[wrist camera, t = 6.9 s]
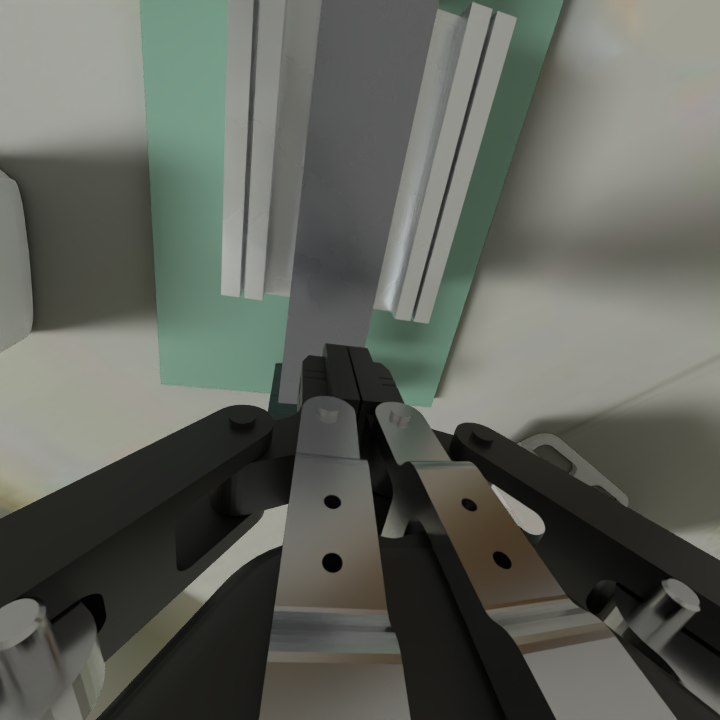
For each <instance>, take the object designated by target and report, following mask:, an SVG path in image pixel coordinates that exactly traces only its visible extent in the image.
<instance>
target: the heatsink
mask: <svg viewBox="0 0 720 720" xmlns="http://www.w3.org/2000/svg"><path fill="white" fill-rule="evenodd" d="M321 5H322V0H228V28H227V69H226V110H225V150H224V191H223V232H222V273H221V295H226V296H233V297H240V296H241V294H242V292H243V290H245V292H244V298H247V299H254V300H263V297H264V294H265V293H266V294H273V295H280V296H287V297H290V289H291V280H292V271H293V262H294V252H295V243H296V234H297V225H298V216H299V207H300V197H301V188H302V179H303V170H304V161H305V151H306V142H307V133H308V124H309V115H310V106H311V96H312V87H313V78H314V69H315V60H316V50H317V41H318V32H319V23H320V14H321ZM492 10H493V9H491V8H488V7H485V6H483V5H480V4H477V3H474V2H472V3H471V4H470V5H469V6H468V7H467V8H466V10H465V11H464V12H463V13H462V14H461V15H460V16H458V15H455V14H452V13H449V12H446V11H443V10H440V9H437V13H436V18H435V23H434V27H433V32H432V37H431V41H430V46H429V51H428V55H427V60H426V65H425V69H424V74H423V79H422V83H421V88H420V92H419V97H418V102H417V106H416V111H415V116H414V120H413V125H412V130H411V134H410V139H409V144H408V148H407V153H406V158H405V162H404V167H403V172H402V176H401V181H400V186H399V190H398V195H397V199H396V204H395V209H394V213H393V218H392V223H391V227H390V232H389V237H388V241H387V246H386V251H385V255H384V260H383V265H382V269H381V274H380V279H379V283H378V288H377V293H376V297H375V302H374V306H373V309H378V310H385V311H390V312H391V314H392V315H393V317H394V318H395V319H399V320H406V321H410V320H411V319H412V320H413V321H414V322H420V323H428V324H429V321H430V317H431V314H432V310H433V307H434V303H435V300H436V297H437V293H438V290H439V286H440V283H441V279H442V276H443V272H444V269H445V265H446V262H447V258H448V255H449V252H450V248H451V245H452V241H453V238H454V234H455V231H456V227H457V224H458V220H459V217H460V214H461V210H462V207H463V203H464V200H465V196H466V193H467V189H468V186H469V182H470V179H471V175H472V172H473V169H474V165H475V162H476V158H477V155H478V151H479V148H480V144H481V141H482V137H483V134H484V131H485V127H486V124H487V120H488V117H489V113H490V110H491V106H492V103H493V99H494V96H495V92H496V89H497V86H498V82H499V79H500V75H501V72H502V68H503V65H504V61H505V58H506V54H507V51H508V48H509V44H510V41H511V37H512V34H513V30H514V27H515V23H516V20H517V18H516V17H514V16H511V15H508V14H505V13H502V12H500V11H497V12H496V13H495V14H494V15H492V16H491V14H492ZM281 372H282V364H276V363H275V369H274V376H273V382H272V389H271V395H270V402H269V408H268V413H269V414H270V415H271V416H272V418H273V420H279V419H284V418H288V417H290V416H293V415H294V414H296V413H297V404H288V403H278V399H279V390H280V381H281Z"/></svg>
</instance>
